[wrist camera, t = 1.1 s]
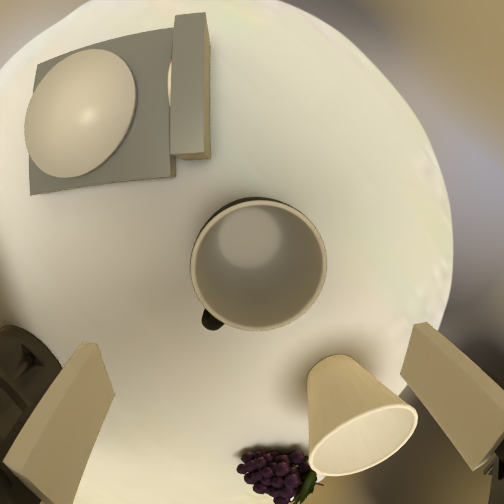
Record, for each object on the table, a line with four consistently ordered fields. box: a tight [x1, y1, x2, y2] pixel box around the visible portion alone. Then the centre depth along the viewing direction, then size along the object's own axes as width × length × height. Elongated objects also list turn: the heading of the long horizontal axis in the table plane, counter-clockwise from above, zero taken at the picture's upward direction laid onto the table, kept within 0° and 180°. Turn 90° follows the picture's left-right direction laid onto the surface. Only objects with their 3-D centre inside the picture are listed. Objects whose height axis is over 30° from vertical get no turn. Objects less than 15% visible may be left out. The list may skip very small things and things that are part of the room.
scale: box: [25, 12, 211, 196], centre depth 20 cm, size 19×15×7 cm
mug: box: [190, 197, 327, 331], centre depth 23 cm, size 12×9×10 cm
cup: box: [307, 355, 418, 476], centre depth 27 cm, size 12×12×12 cm
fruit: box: [236, 450, 324, 504], centre depth 33 cm, size 10×11×15 cm
